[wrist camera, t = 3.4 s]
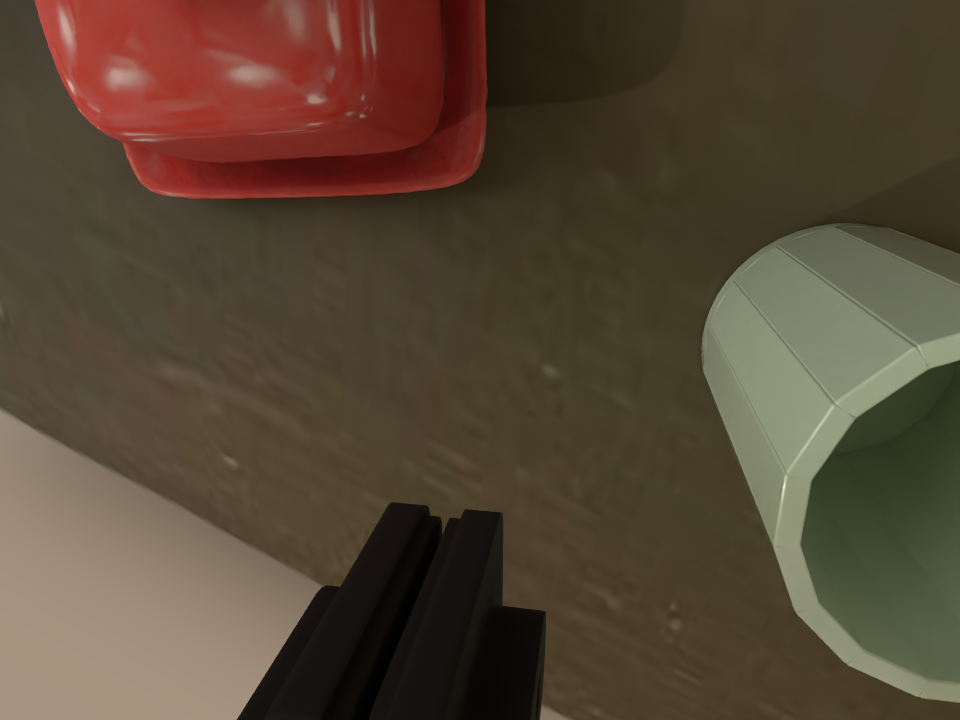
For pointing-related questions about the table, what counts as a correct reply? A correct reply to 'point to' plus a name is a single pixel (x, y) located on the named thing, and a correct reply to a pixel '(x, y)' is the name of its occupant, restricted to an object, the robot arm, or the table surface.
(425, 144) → the butter dish
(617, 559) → the table surface
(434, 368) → the table surface
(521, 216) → the table surface
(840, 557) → the cup
